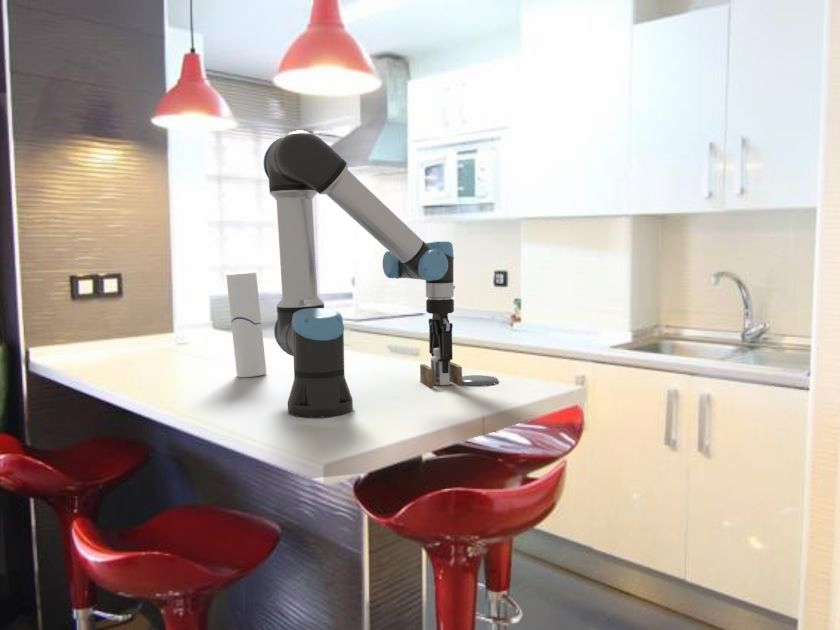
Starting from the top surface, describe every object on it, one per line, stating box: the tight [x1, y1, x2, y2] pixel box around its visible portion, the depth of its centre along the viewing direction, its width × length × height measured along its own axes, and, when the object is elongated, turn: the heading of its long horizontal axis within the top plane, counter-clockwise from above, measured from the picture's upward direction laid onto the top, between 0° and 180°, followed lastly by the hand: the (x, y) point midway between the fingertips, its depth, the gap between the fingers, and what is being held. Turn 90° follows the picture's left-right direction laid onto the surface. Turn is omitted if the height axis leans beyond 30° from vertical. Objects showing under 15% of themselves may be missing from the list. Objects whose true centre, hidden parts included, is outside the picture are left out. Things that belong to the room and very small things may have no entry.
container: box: [225, 272, 267, 378], centre depth 207 cm, size 9×9×30 cm
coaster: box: [461, 374, 499, 387], centre depth 194 cm, size 12×12×1 cm
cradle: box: [419, 361, 463, 389], centre depth 192 cm, size 8×9×5 cm
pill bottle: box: [430, 348, 452, 386], centre depth 192 cm, size 5×5×10 cm
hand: (440, 382), depth 192 cm, fingers closed on pill bottle, 5 cm apart
